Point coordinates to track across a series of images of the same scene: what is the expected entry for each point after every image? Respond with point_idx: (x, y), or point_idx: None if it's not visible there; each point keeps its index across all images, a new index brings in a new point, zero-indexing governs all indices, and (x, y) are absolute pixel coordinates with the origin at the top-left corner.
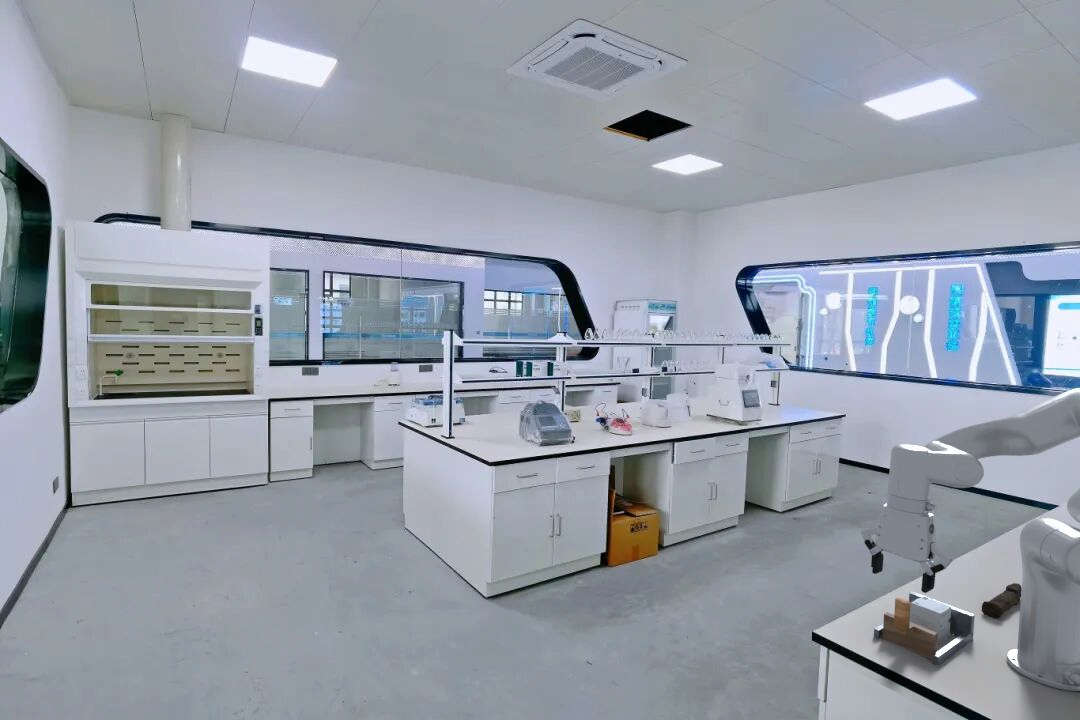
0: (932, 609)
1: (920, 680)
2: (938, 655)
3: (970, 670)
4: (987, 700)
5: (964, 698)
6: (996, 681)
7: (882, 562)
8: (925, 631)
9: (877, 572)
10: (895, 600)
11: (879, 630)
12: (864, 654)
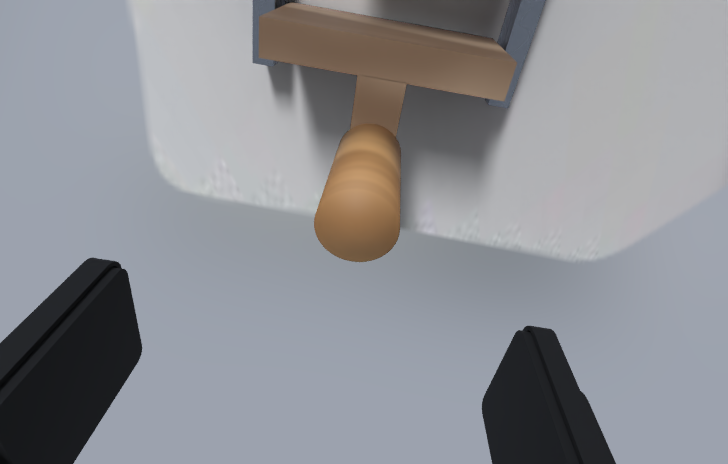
0: None
1: (459, 226)
2: (508, 95)
3: (616, 22)
4: (639, 194)
5: (573, 229)
6: (705, 33)
7: (69, 344)
8: (462, 92)
9: (135, 338)
10: (321, 242)
11: (273, 60)
12: (297, 204)
